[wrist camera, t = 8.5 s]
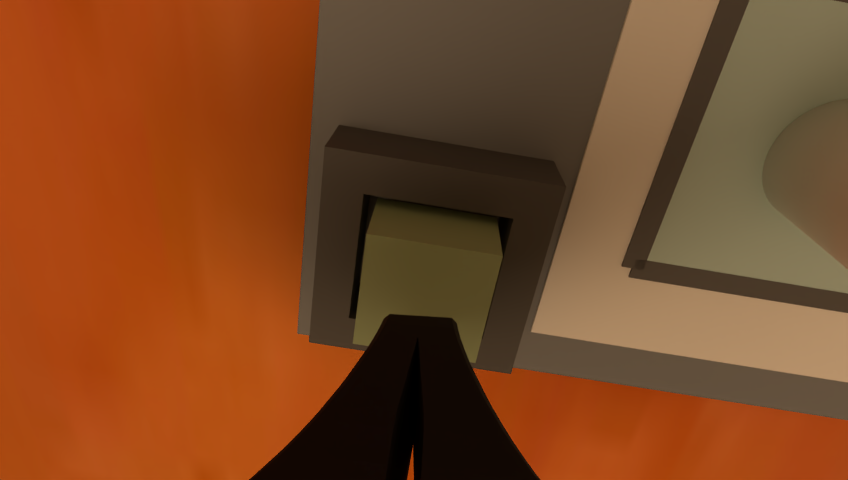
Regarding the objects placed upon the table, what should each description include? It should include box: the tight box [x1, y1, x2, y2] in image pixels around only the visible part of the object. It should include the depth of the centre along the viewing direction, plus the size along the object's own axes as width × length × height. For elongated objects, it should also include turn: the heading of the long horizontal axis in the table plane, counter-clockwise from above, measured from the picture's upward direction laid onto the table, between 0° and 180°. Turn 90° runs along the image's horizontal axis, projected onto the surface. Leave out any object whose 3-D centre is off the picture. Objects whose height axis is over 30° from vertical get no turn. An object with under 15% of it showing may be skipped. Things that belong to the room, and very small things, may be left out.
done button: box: [353, 198, 503, 363], centre depth 14 cm, size 3×3×2 cm
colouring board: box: [297, 0, 848, 420], centre depth 13 cm, size 20×18×3 cm
